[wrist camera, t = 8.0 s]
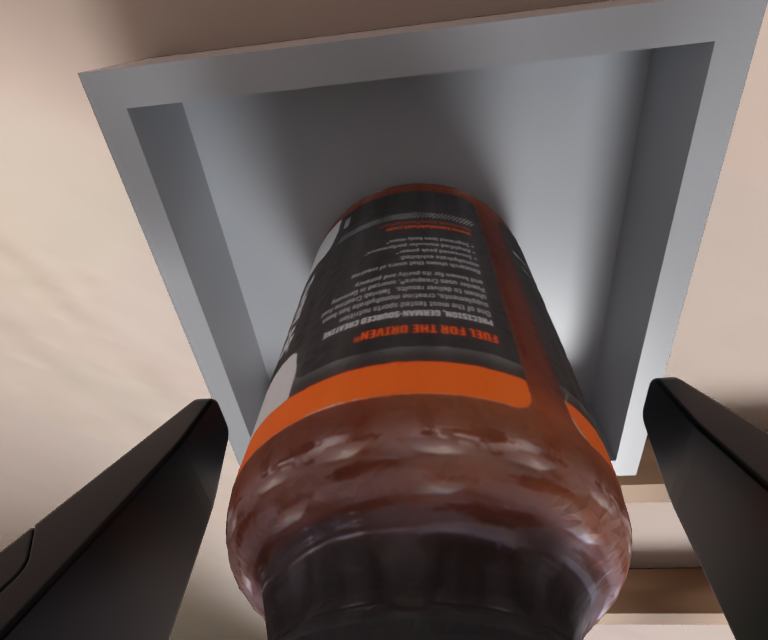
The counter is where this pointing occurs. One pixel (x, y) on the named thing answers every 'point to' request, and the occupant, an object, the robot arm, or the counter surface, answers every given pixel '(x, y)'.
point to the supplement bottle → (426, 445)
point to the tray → (441, 172)
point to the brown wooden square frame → (660, 571)
